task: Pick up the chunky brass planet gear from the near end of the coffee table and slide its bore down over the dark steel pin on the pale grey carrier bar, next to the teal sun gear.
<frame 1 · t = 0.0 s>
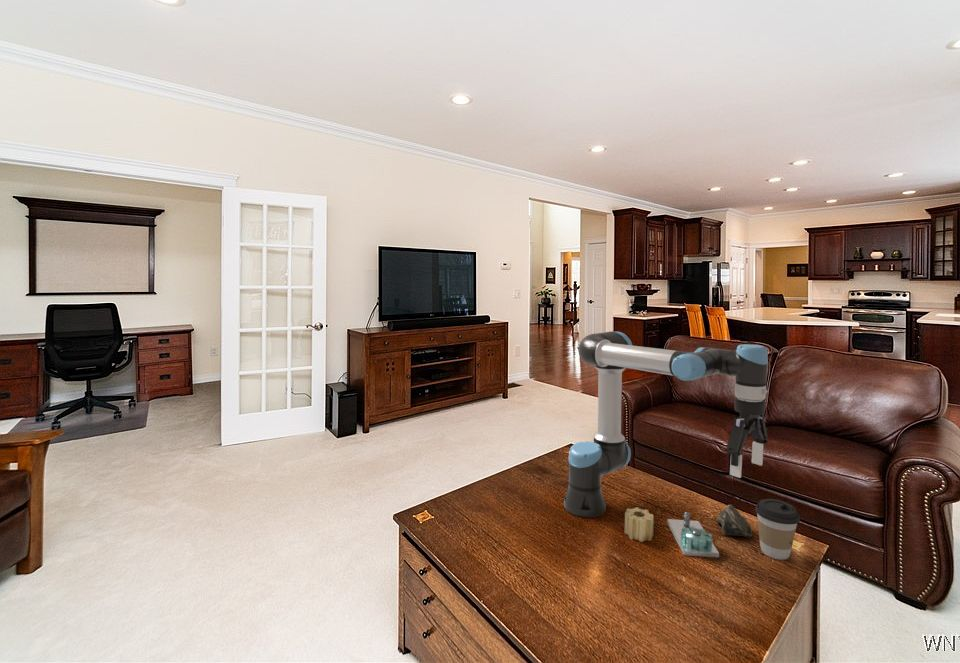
hand: (746, 469, 126), 28 cm above the table, fingers open, 13 cm apart
coffee cup: (774, 553, 132), on the table
grey rock: (735, 532, 144), on the table
carrier: (686, 530, 145), on the table
planet gear: (638, 534, 143), on the table
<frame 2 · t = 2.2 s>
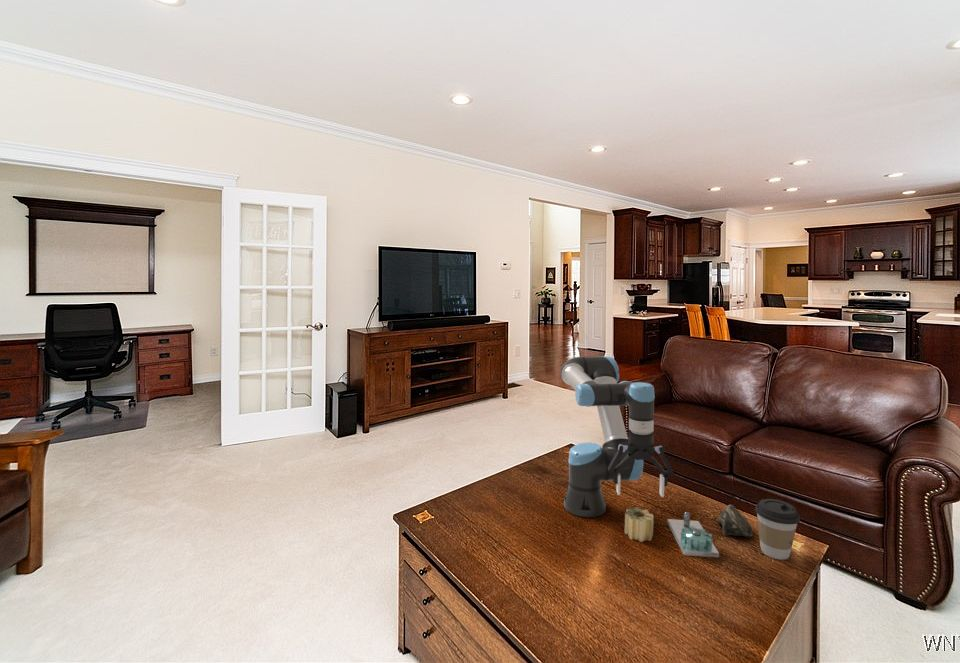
hand: (639, 494, 142), 14 cm above the table, fingers open, 13 cm apart
nothing on the table moved.
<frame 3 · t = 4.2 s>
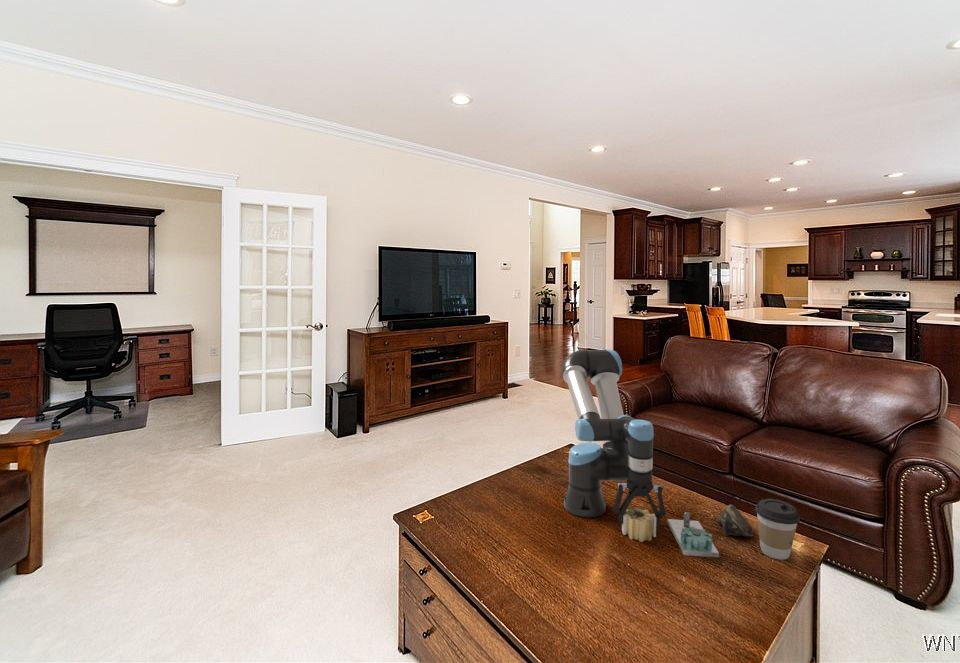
hand: (638, 533, 143), 0 cm above the table, fingers closed on planet gear, 9 cm apart
planet gear: (638, 534, 143), on the table, touching gripper
everything else where it was.
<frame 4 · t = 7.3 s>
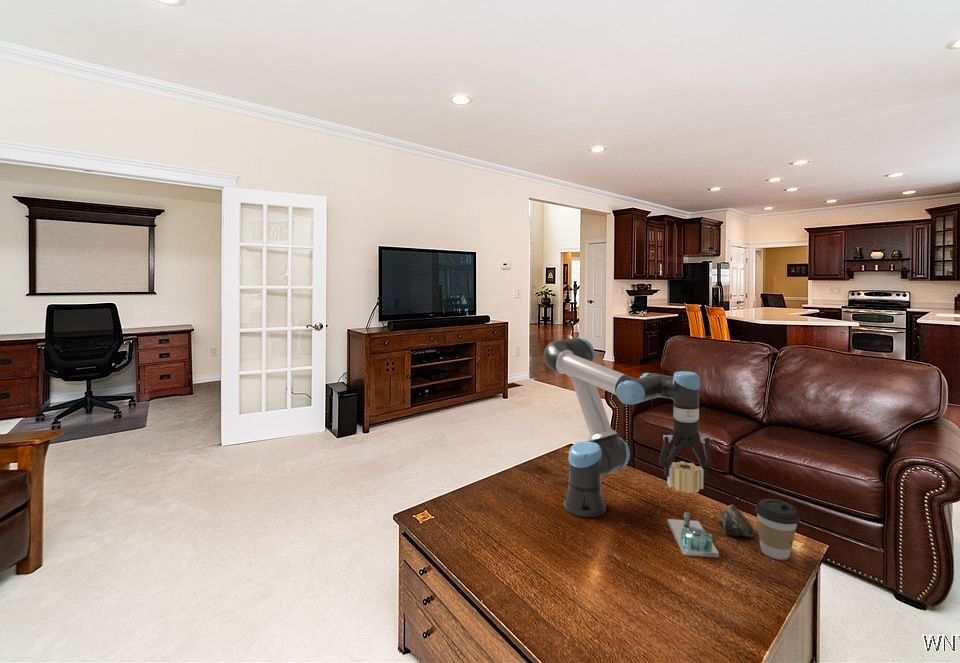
hand: (685, 486, 143), 16 cm above the table, fingers closed on planet gear, 9 cm apart
planet gear: (685, 487, 143), point 16 cm above the table, touching gripper
everything else where it was.
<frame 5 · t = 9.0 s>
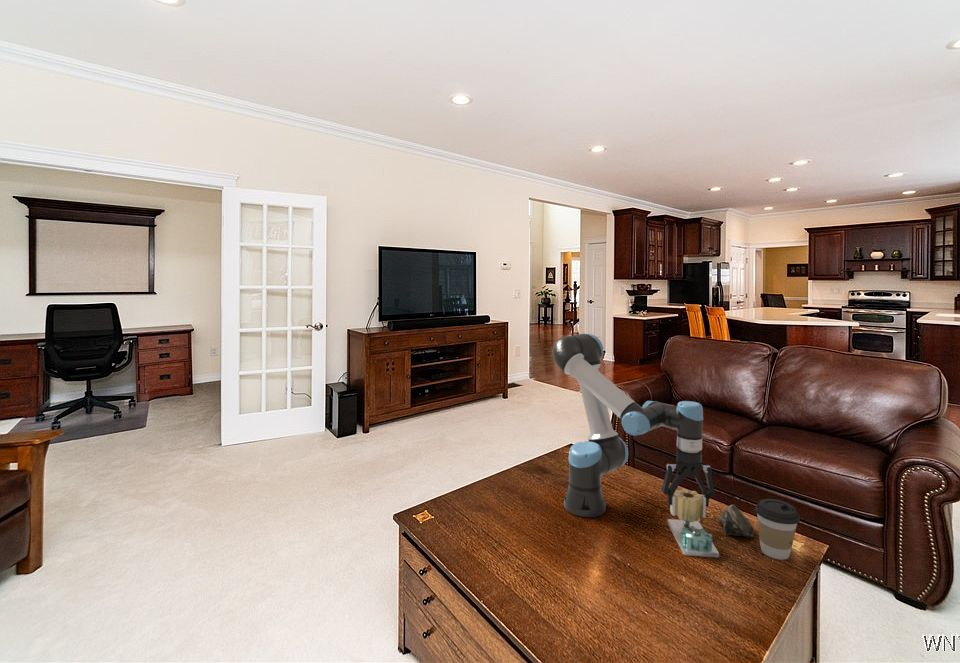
hand: (687, 514, 144), 6 cm above the table, fingers closed on planet gear, 9 cm apart
planet gear: (687, 515, 144), point 6 cm above the table, touching gripper
everything else where it was.
when the fingers open (3 cm above the table, at t = 10.4 s): planet gear drops 1 cm, resting on carrier.
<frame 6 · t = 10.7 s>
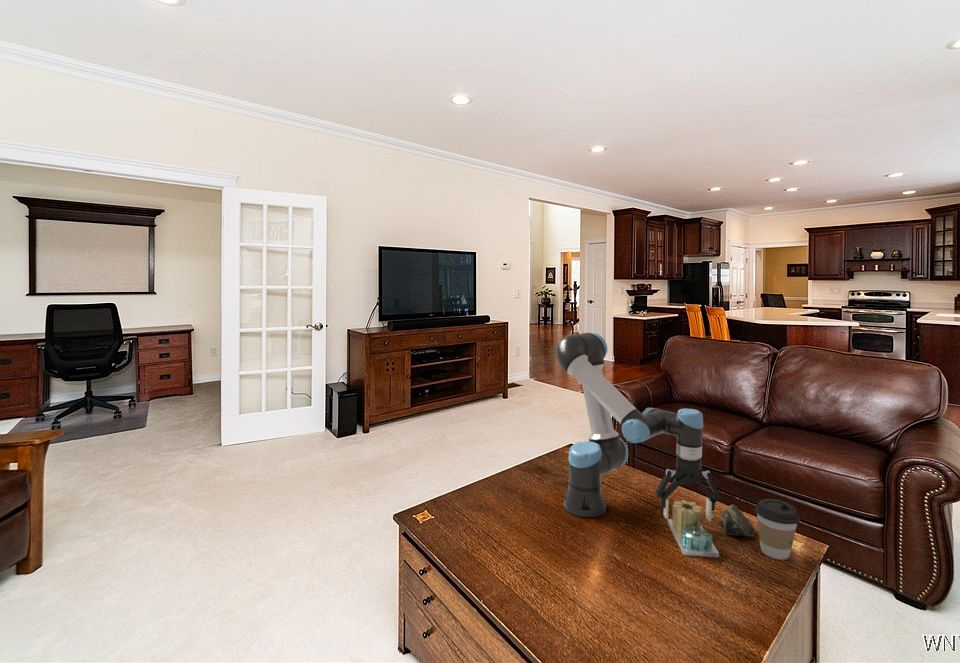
hand: (686, 518, 145), 4 cm above the table, fingers open, 13 cm apart
planet gear: (686, 526, 145), point 1 cm above the table, touching carrier
everything else where it was.
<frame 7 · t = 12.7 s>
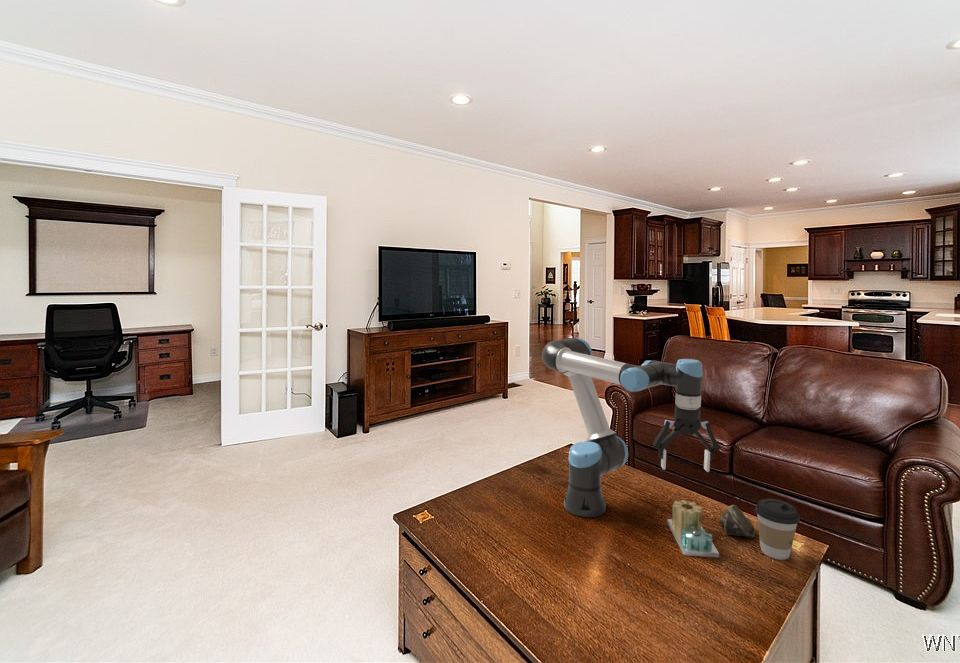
hand: (684, 468, 144), 21 cm above the table, fingers open, 13 cm apart
nothing on the table moved.
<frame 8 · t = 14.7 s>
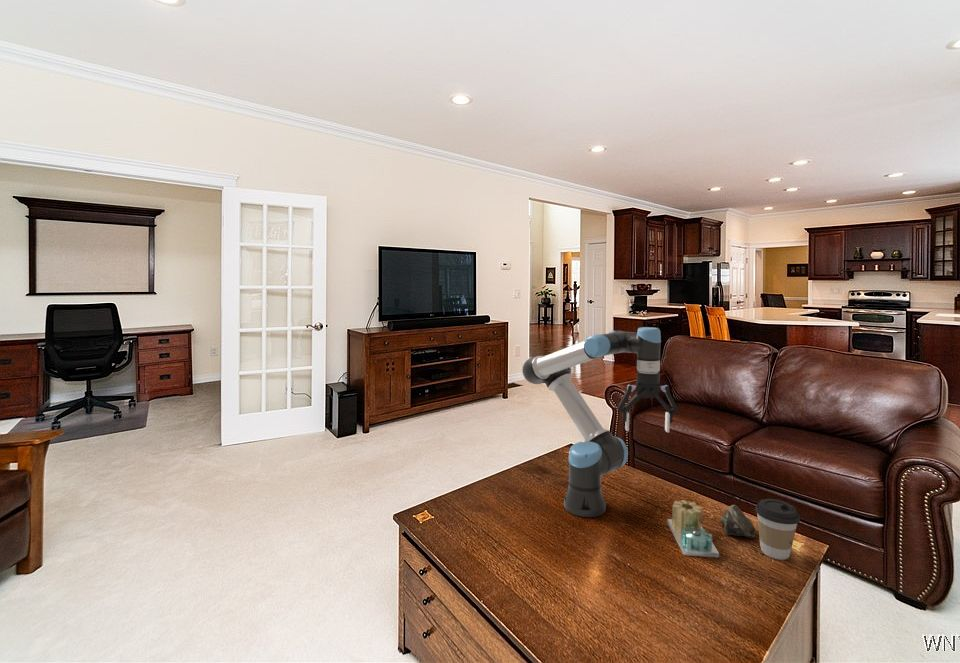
hand: (646, 430, 153), 31 cm above the table, fingers open, 13 cm apart
nothing on the table moved.
at the end: planet gear 0.1 cm off-centre on the carrier, point 1.5 cm above the carrier's base; planet gear tilted 0°; the gripper is holding nothing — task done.
